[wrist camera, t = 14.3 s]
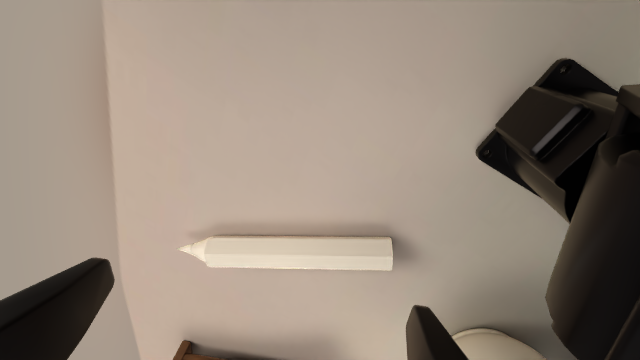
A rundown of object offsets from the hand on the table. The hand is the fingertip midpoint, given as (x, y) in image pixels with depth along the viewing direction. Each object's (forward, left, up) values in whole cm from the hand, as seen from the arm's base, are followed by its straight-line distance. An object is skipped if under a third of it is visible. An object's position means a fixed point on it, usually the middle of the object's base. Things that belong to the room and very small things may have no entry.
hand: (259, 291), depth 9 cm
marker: (-2, +8, -12) cm, 15 cm away
